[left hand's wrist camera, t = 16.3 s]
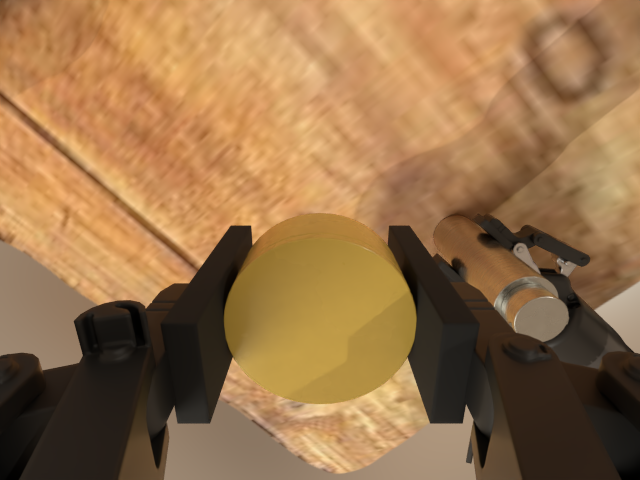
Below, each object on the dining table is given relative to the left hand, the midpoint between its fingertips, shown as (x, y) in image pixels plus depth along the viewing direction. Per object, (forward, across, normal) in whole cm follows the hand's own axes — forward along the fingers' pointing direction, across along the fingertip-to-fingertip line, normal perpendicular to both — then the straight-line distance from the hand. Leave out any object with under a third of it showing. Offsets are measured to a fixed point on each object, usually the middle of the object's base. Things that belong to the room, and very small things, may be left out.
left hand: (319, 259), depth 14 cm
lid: (-4, 0, 0) cm, 4 cm away
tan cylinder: (+25, +15, -8) cm, 31 cm away
